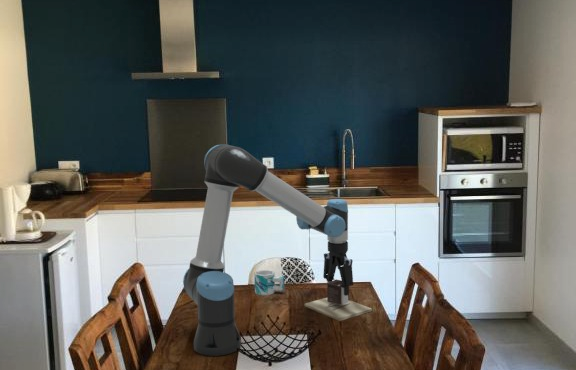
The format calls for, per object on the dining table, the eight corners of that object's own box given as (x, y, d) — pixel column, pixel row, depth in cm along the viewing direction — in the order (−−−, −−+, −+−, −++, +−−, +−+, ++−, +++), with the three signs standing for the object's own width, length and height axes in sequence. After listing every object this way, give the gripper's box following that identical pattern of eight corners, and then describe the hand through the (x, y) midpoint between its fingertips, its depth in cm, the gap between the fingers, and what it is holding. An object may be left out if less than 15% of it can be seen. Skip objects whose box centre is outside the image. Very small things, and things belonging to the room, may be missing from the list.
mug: (259, 288, 252) (258, 268, 251) (286, 290, 248) (286, 270, 247) (252, 294, 244) (252, 274, 243) (280, 296, 241) (280, 276, 239)
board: (339, 321, 213) (339, 318, 213) (304, 306, 229) (304, 303, 229) (371, 311, 223) (371, 308, 222) (336, 297, 239) (336, 294, 238)
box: (336, 297, 230) (336, 279, 229) (349, 300, 226) (349, 281, 225) (326, 301, 225) (326, 283, 224) (340, 305, 221) (339, 286, 220)
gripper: (363, 244, 216) (363, 305, 220) (328, 234, 232) (328, 291, 236) (348, 247, 212) (348, 309, 215) (313, 237, 228) (313, 295, 231)
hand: (338, 300), depth 226 cm, fingers closed on box, 7 cm apart
